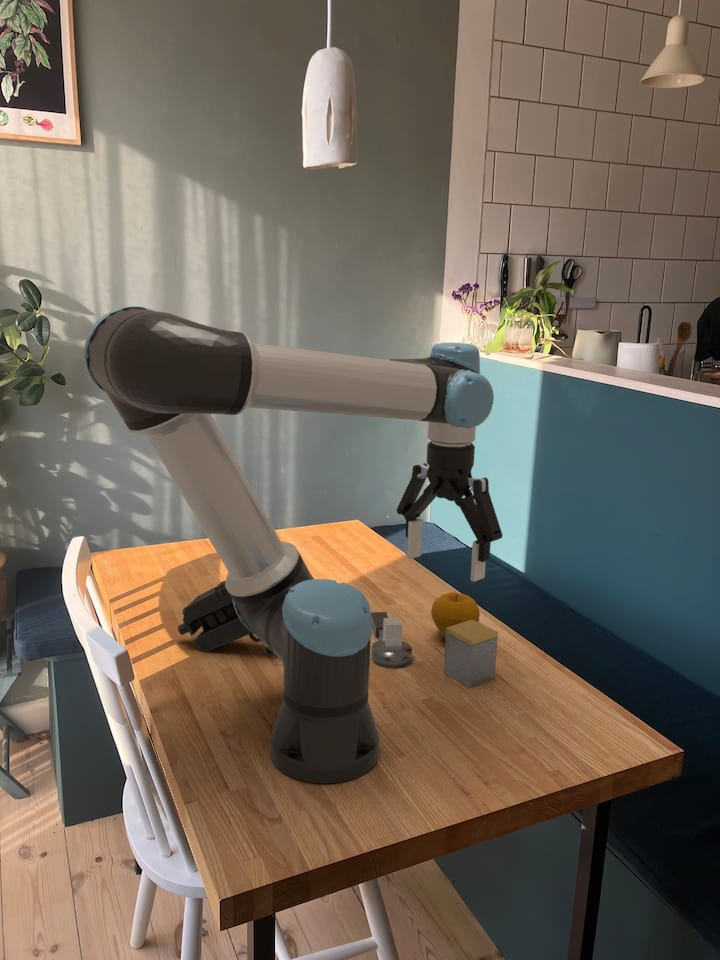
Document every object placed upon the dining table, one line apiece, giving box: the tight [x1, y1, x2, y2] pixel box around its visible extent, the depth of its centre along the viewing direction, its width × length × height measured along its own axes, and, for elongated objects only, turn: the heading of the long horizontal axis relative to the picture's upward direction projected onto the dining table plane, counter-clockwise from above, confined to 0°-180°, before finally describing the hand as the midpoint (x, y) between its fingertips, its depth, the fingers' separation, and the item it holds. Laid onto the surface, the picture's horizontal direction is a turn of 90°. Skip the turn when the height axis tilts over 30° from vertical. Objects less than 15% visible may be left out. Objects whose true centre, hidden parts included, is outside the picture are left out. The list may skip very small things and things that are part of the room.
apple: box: [430, 591, 480, 639], centre depth 147 cm, size 9×9×9 cm
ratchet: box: [370, 611, 413, 669], centre depth 145 cm, size 19×7×7 cm, turn 7°
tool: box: [177, 580, 275, 657], centre depth 141 cm, size 6×19×15 cm, turn 78°
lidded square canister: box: [443, 620, 499, 689], centre depth 134 cm, size 6×6×8 cm
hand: (444, 567), depth 133 cm, fingers open, 13 cm apart
